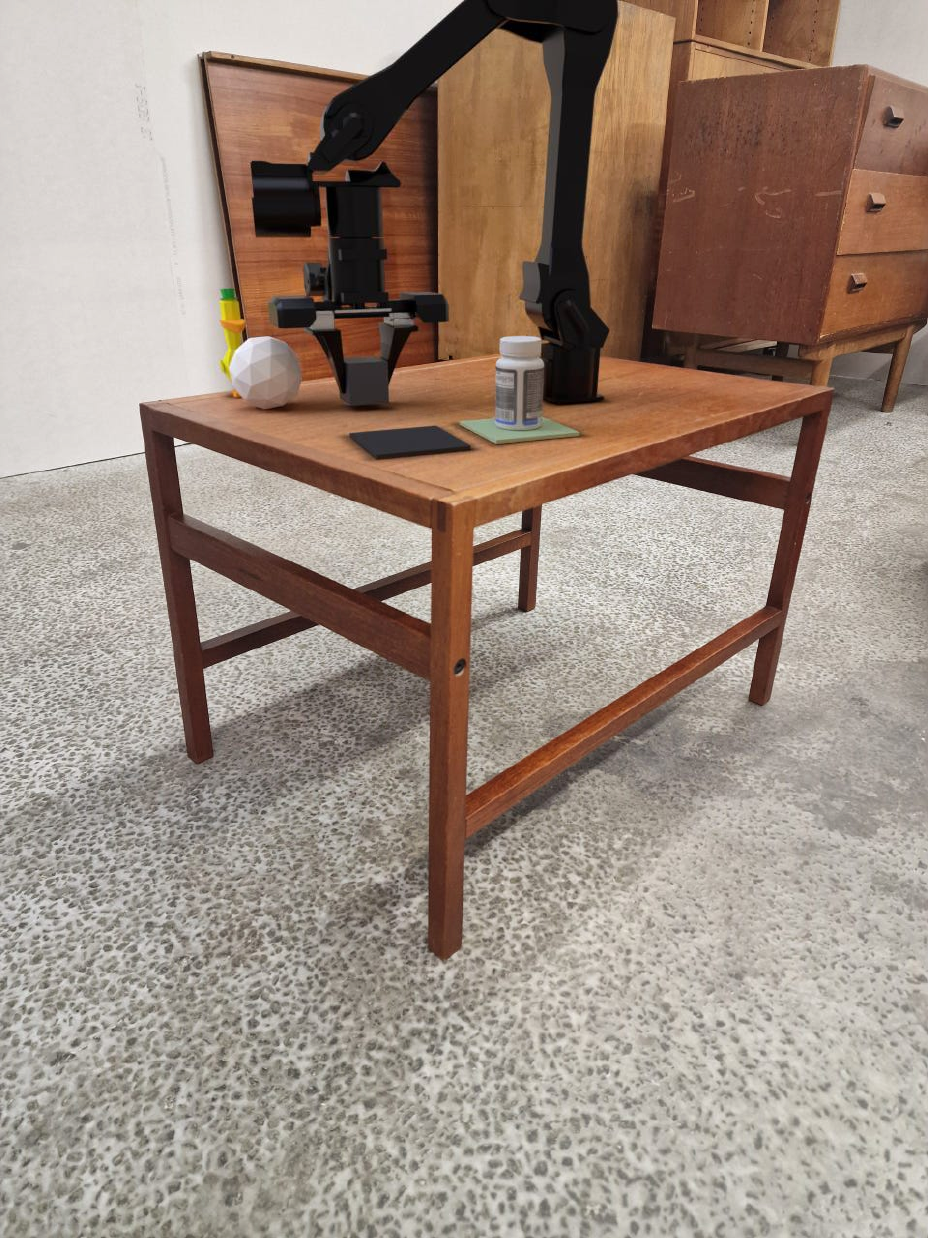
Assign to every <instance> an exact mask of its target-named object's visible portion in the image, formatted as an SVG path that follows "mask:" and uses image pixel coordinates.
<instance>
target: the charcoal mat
mask: <svg viewBox="0 0 928 1238" xmlns="http://www.w3.org/2000/svg"><path fill="white" fill-rule="evenodd" d="M348 436H349V438H350V439H351V440H352V441H354V442H355V443H356V444H358V446H360V448H362V449H364V450H365V451H366V452H367V453H369V454H370V455H371V456H372V457H373V458H375V459H376V460H381V459H392V458H402V457H411V456H421V455H432V454H442V453H443V454H444V453H452V452H460V451H470V450H471V449H472V448H471V445H470V444H469V443H467V442H465V441H464V440H462V439H460V438H458V437H456V436H455V435H453V434H451V433H449V432H448V431H446V430H444V429H443V428H441V427H439V426H437V425H428V426H427V425H426V426H414V427H403V428H392V429H391V428H390V429H380V430H369V431H358V432H357V431H356V432H349V433H348Z"/></svg>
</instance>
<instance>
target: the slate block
mask: <svg viewBox="0 0 928 1238" xmlns="http://www.w3.org/2000/svg"><path fill="white" fill-rule="evenodd" d="M344 365H345V375H346V392H345V393H344V394H342V393H341V392H340V390H339V389H338V392H339V399H340V400H341V401H342V402H344V403H345V404H347V405H348V406H350V407H354V406H355V407H356V406H367V405H368V406H369V405H379V404H380V405H381V404H382V405H383V404H390V390H389V389H390V388H389V386H388V362H387V361H386V360H383V359H381V358H380V356H377V355H368V356H367V355H365V356H348V357H347V356H346V357H345V356H344Z"/></svg>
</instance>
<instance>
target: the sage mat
mask: <svg viewBox="0 0 928 1238" xmlns="http://www.w3.org/2000/svg"><path fill="white" fill-rule="evenodd" d="M459 425H460V426H462V427H463V428H465V429H467V430H468V431H471V432H472V433H475V434H476V435H478V436H480V437H482V438H484V439H485V440H487V441H489V442H491V443H492V444H494V445H502V444H512V443H525V442H533V441H544V440H553V439H563V438H571V437H572V438H573V437H580V431H578V430H576V429H573V428H571V427H568V426H566V425H564V424H562V423H559V422H556V421H554V420H552V419H549V418H547V417H544V416H542V425H541V426H540V427H539V428H537V429H533V430H506V429H501V428H499V427H497V426H496V424H495V417H492V418H490V417H489V418H481V419H480V418H479V419H468V420H460V421H459Z"/></svg>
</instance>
